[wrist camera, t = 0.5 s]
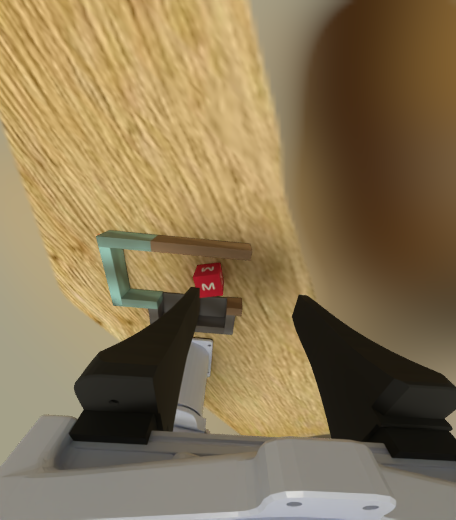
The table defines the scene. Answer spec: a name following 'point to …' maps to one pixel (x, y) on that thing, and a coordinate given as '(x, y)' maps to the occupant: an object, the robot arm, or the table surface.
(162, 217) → the table surface
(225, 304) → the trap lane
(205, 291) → the red letter block
